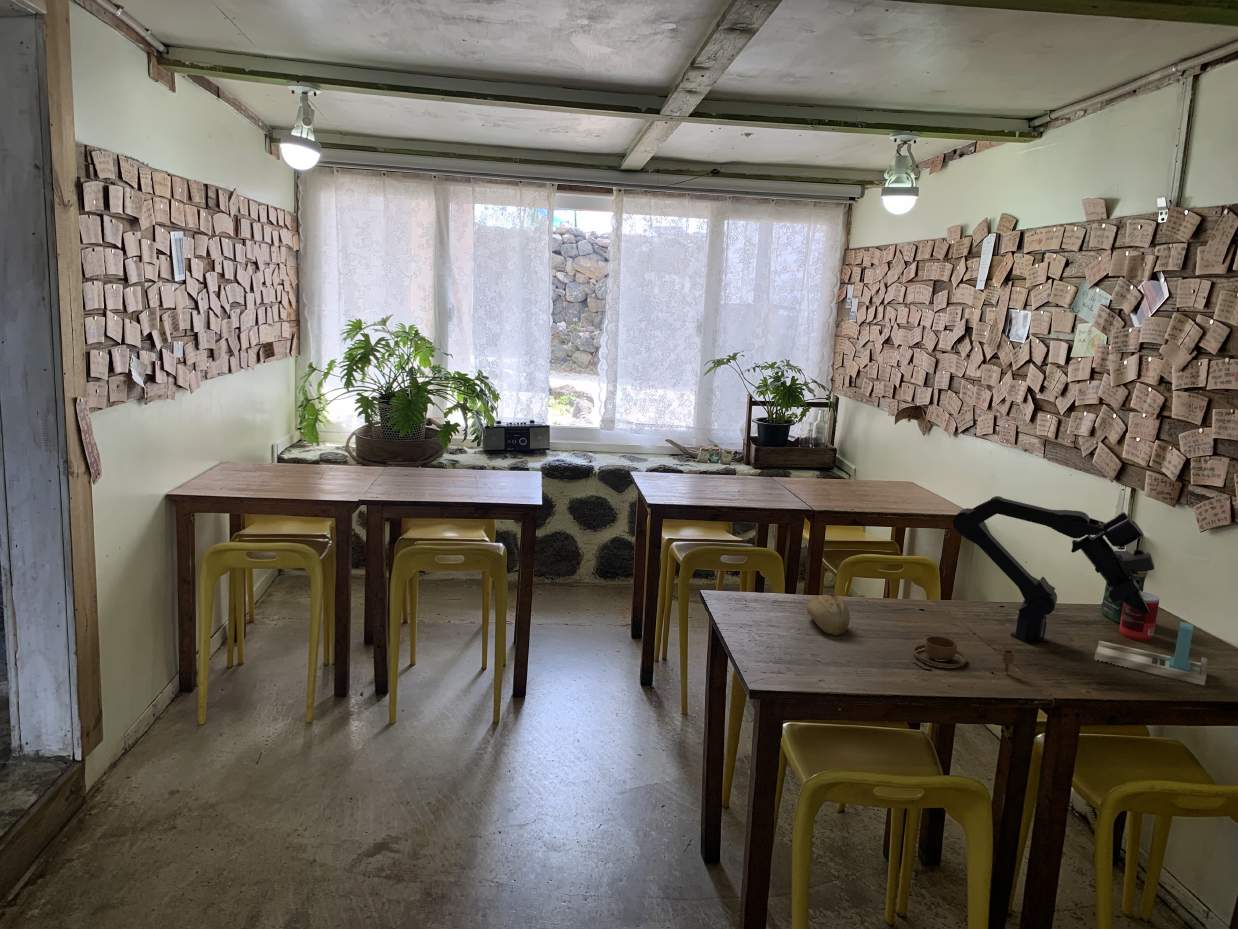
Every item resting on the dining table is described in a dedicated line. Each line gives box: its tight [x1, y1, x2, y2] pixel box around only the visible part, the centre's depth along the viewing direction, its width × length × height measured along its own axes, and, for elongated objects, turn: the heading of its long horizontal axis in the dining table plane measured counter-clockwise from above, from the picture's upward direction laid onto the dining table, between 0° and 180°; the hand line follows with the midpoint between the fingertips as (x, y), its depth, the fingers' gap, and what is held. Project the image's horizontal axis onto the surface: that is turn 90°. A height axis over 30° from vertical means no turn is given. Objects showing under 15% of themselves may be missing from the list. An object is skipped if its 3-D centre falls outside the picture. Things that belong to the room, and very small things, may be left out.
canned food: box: [1119, 591, 1160, 642], centre depth 220 cm, size 8×8×11 cm
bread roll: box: [806, 594, 851, 636], centre depth 218 cm, size 10×15×8 cm, turn 11°
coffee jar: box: [1100, 550, 1149, 623], centre depth 231 cm, size 10×8×19 cm
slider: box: [1169, 621, 1194, 672], centre depth 197 cm, size 4×6×10 cm, turn 146°
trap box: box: [1093, 640, 1208, 686], centre depth 201 cm, size 22×9×4 cm, turn 56°
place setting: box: [912, 635, 1015, 673], centre depth 197 cm, size 18×20×6 cm
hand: (1147, 612), depth 201 cm, fingers closed
